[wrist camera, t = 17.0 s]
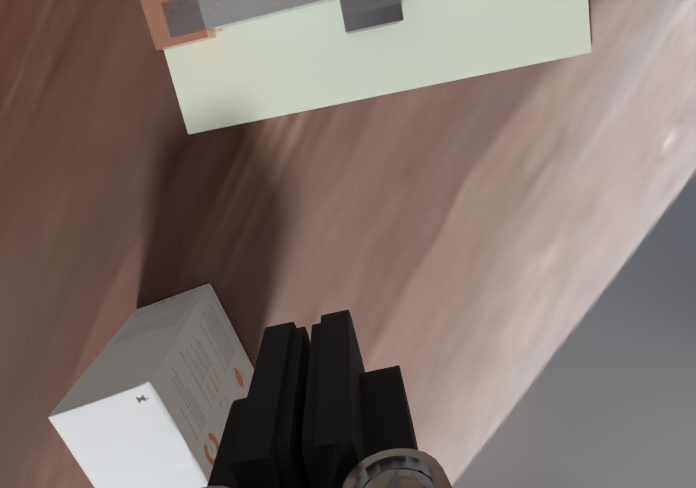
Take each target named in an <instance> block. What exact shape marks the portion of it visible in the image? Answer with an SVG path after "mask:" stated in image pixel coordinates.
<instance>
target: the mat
mask: <svg viewBox="0 0 696 488" xmlns="http://www.w3.org/2000/svg"><path fill="white" fill-rule="evenodd" d="M401 6H402V12H403V18H404V20H402V21H400V22H398V23H397V24H392V25H388V26H383V27H378V28H374V29H369V30H364V31H360V32H355V33H350V34H347V33H346V31H345V25H344V20H343V15H342V10H341V4H340V0H334V1H330V2H326V3H322V4H318V5H314V6H310V7H306V8H302V9H298V10H294V11H290V12H286V13H282V14H278V15H274V16H270V17H266V18H262V19H258V20H254V21H250V22H246V23H242V24H238V25H234V26H230V27H226V28H222V29H223V31H219V32H215V33H216V36H217V37H216V38H212V39H208V40H204V41H200V42H196V43H192V44H188V45H184V46H180V47H176V48H172V49H168V50H164V52H165V56H166V59H167V63H168V66H169V70H170V73H171V77H172V80H173V84H174V87H175V90H176V94H177V97H178V101H179V104H180V108H181V111H182V115H183V118H184V122H185V125H186V129H187V132H188V134H193V133H198V132H203V131H208V130H213V129H218V128H223V127H228V126H233V125H238V124H242V123H247V122H252V121H257V120H262V119H267V118H272V117H277V116H282V115H287V114H292V113H296V112H301V111H306V110H311V109H316V108H321V107H326V106H331V105H336V104H341V103H345V102H350V101H355V100H360V99H365V98H370V97H375V96H380V95H385V94H390V93H395V92H399V91H404V90H409V89H414V88H419V87H424V86H429V85H434V84H439V83H444V82H449V81H453V80H458V79H463V78H468V77H473V76H478V75H483V74H488V73H493V72H498V71H502V70H507V69H512V68H517V67H522V66H527V65H532V64H537V63H542V62H547V61H552V60H556V59H561V58H566V57H571V56H576V55H581V54H586V53H591V38H590V22H589V5H588V0H401Z"/></svg>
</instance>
